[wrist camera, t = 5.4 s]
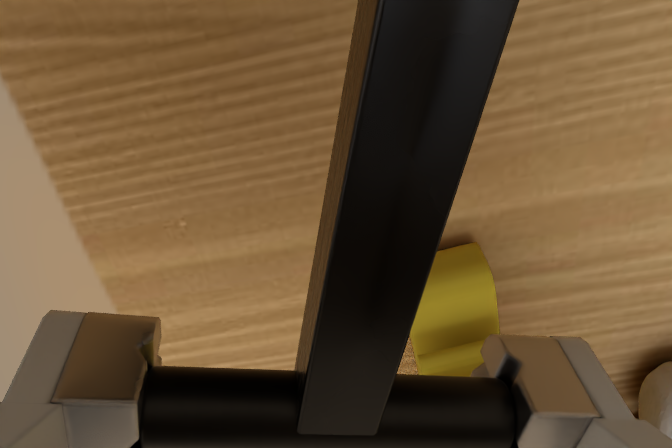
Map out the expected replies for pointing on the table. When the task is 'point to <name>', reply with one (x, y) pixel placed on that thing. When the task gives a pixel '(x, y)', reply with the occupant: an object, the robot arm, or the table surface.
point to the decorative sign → (455, 313)
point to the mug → (657, 398)
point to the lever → (369, 258)
